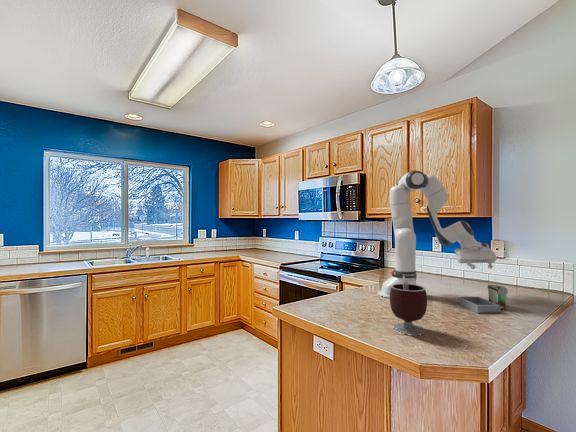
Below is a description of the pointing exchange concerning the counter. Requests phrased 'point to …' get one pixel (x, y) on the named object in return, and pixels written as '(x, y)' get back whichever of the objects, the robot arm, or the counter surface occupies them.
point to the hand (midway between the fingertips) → (482, 268)
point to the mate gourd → (408, 306)
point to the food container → (497, 295)
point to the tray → (479, 305)
